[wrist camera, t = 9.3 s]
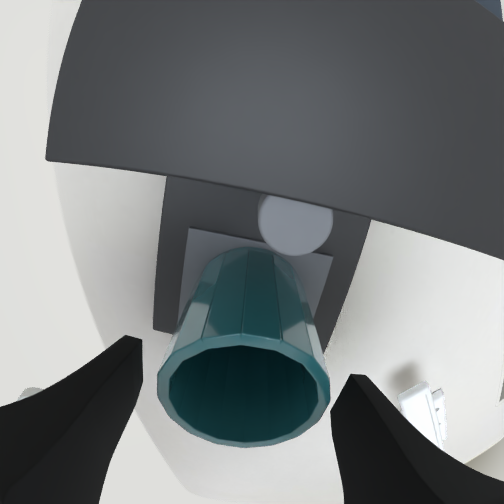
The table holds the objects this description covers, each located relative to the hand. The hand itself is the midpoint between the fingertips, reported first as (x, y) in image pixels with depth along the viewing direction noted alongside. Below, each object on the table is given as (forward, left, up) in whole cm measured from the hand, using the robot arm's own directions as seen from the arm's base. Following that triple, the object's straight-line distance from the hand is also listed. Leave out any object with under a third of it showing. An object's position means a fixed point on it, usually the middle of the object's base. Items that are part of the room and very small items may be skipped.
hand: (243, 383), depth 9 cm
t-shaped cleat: (+13, -18, -7) cm, 23 cm away
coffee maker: (+3, +8, -7) cm, 11 cm away
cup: (0, 0, -6) cm, 6 cm away
